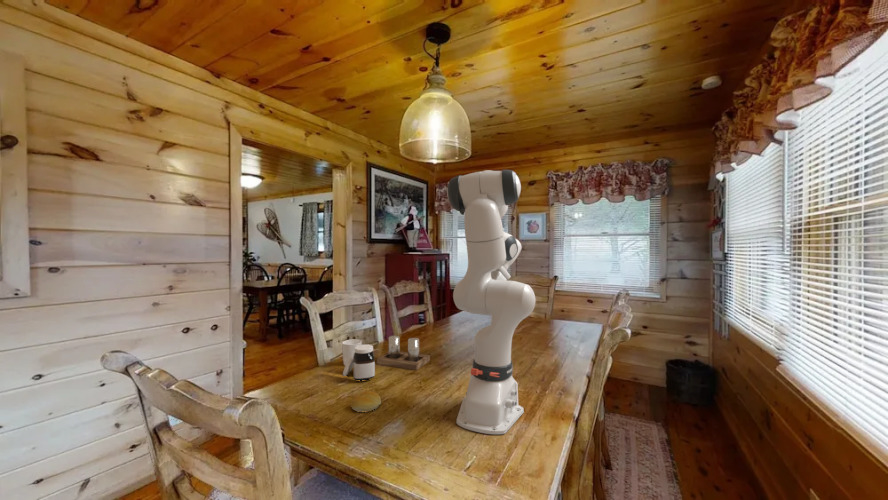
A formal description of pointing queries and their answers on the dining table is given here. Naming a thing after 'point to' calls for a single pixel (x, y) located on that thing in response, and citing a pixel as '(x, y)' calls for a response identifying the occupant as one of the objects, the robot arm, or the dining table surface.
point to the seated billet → (394, 347)
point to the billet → (413, 349)
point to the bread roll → (366, 401)
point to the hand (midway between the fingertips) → (473, 295)
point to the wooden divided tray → (403, 361)
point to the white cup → (349, 349)
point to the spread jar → (361, 363)
